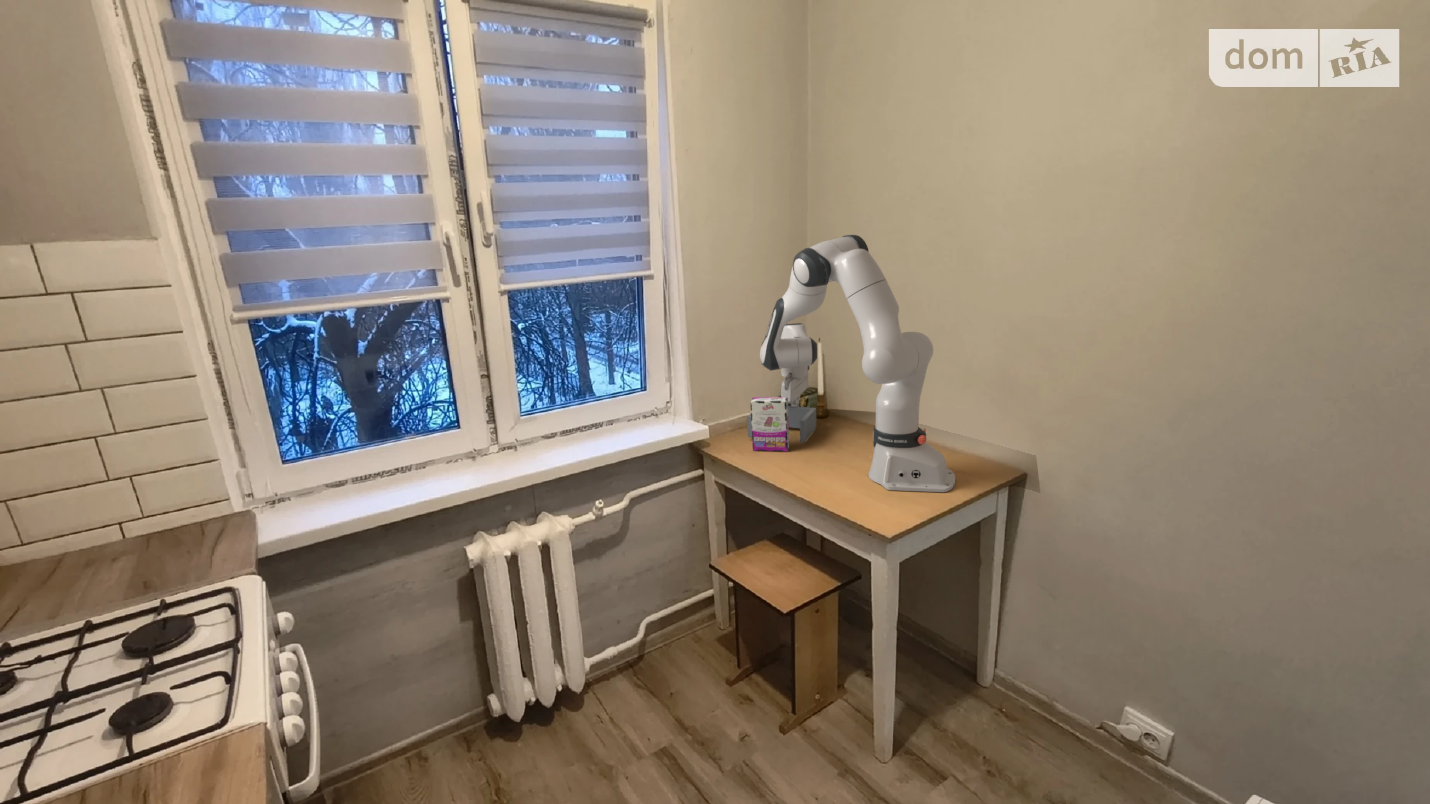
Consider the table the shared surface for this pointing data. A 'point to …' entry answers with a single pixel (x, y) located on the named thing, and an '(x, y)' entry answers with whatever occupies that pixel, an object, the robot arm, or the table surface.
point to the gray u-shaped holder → (797, 421)
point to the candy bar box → (770, 424)
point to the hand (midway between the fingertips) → (795, 408)
